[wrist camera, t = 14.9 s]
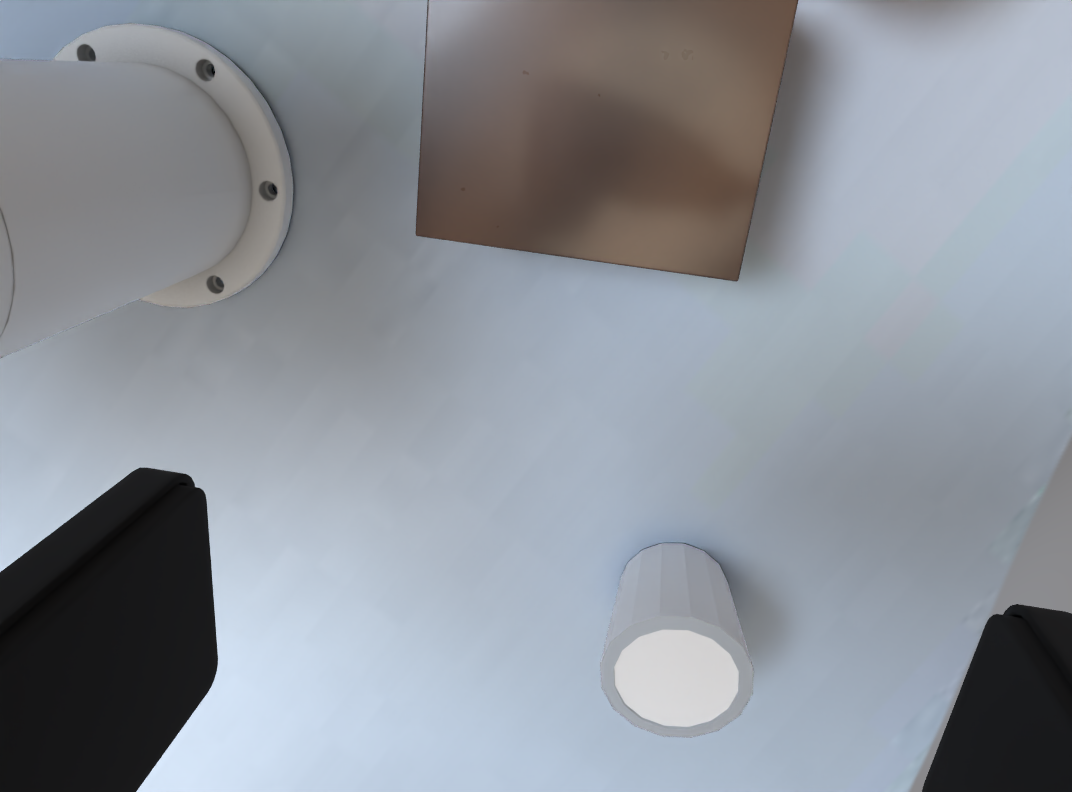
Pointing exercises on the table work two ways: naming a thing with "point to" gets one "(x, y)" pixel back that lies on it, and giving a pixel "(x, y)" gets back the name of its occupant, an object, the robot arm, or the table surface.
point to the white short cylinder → (676, 645)
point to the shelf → (600, 127)
